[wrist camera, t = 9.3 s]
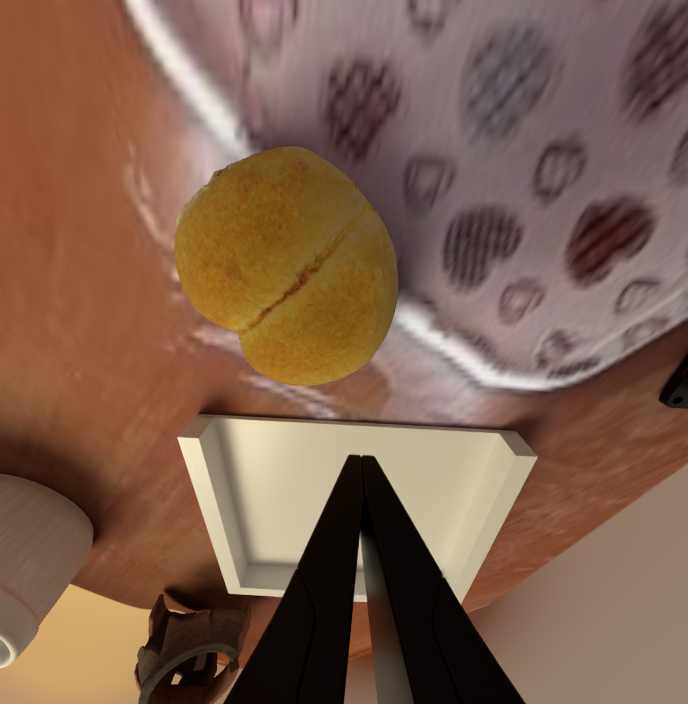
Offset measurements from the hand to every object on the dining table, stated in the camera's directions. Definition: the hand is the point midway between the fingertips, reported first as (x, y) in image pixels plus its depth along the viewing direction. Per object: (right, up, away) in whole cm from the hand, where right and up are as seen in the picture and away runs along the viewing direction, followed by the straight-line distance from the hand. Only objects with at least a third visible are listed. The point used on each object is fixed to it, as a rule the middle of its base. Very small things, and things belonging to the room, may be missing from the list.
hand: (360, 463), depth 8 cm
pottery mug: (-16, -24, +20) cm, 35 cm away
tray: (0, -9, +11) cm, 14 cm away
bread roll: (+1, +7, +5) cm, 8 cm away
